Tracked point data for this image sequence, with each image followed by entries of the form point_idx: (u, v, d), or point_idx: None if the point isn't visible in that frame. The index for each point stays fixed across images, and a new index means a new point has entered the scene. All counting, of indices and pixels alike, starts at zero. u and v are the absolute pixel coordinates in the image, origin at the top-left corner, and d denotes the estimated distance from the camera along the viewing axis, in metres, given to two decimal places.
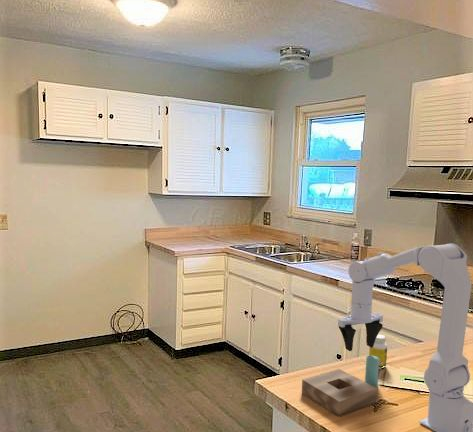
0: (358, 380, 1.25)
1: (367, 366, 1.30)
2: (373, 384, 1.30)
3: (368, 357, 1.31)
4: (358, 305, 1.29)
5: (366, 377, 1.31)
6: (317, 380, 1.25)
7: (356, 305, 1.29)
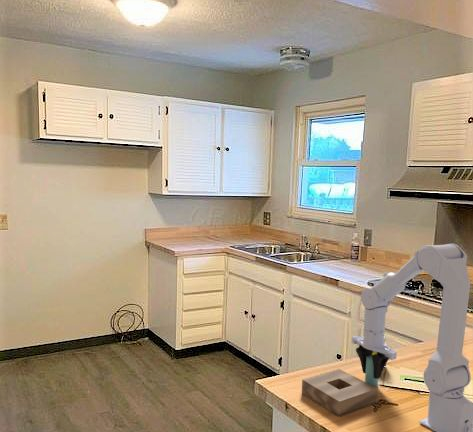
0: (358, 380, 1.25)
1: (367, 366, 1.30)
2: (373, 384, 1.30)
3: (368, 357, 1.31)
4: None
5: (366, 377, 1.31)
6: (317, 380, 1.25)
7: None
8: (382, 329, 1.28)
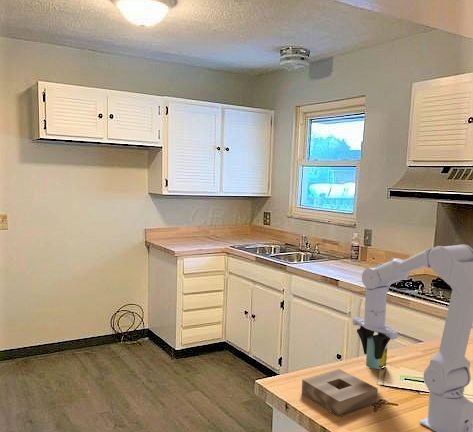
0: (358, 380, 1.25)
1: (368, 347, 1.30)
2: (374, 365, 1.29)
3: (369, 338, 1.31)
4: None
5: (367, 358, 1.30)
6: (317, 380, 1.25)
7: None
8: (383, 309, 1.27)
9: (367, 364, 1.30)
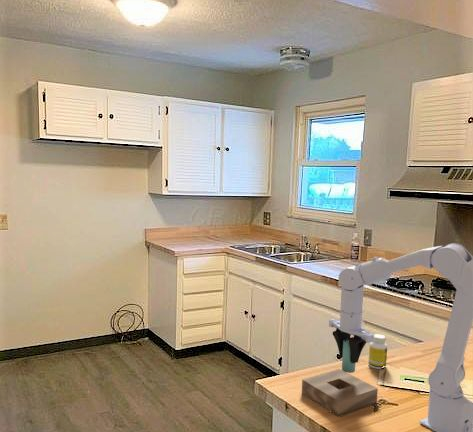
0: (358, 380, 1.25)
1: (344, 350, 1.23)
2: (350, 369, 1.23)
3: (345, 340, 1.24)
4: None
5: (343, 362, 1.24)
6: (317, 380, 1.25)
7: None
8: (361, 310, 1.22)
9: (343, 368, 1.24)
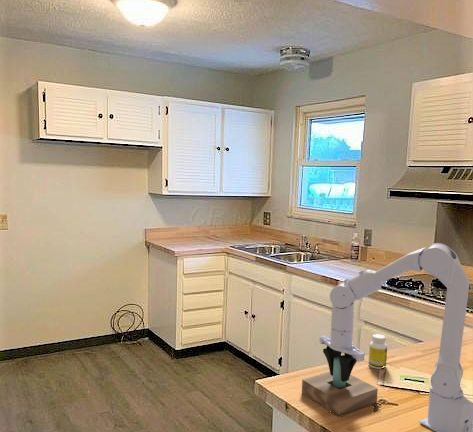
0: (358, 380, 1.25)
1: (334, 368, 1.22)
2: (341, 387, 1.21)
3: (336, 358, 1.22)
4: None
5: (333, 380, 1.22)
6: (317, 380, 1.25)
7: None
8: (352, 327, 1.20)
9: None
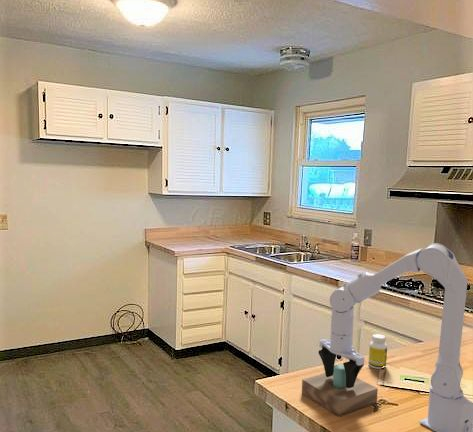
0: (358, 380, 1.25)
1: (334, 376, 1.22)
2: None
3: (336, 367, 1.23)
4: None
5: None
6: (317, 380, 1.25)
7: None
8: (352, 331, 1.20)
9: None
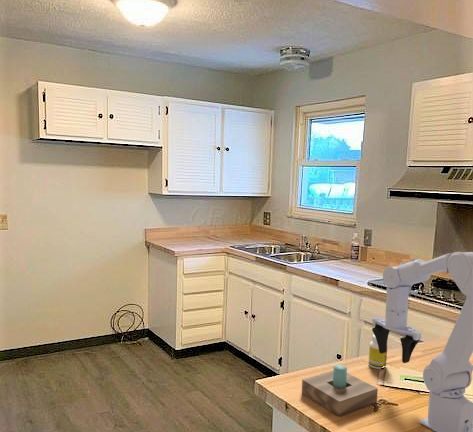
0: (358, 380, 1.25)
1: (334, 376, 1.22)
2: None
3: (335, 367, 1.23)
4: None
5: None
6: (317, 380, 1.25)
7: None
8: (404, 309, 1.23)
9: None
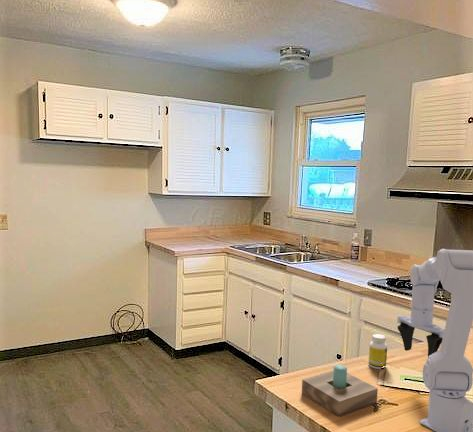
0: (358, 380, 1.25)
1: (334, 376, 1.22)
2: None
3: (336, 367, 1.23)
4: (411, 307, 1.29)
5: None
6: (317, 380, 1.25)
7: None
8: (427, 307, 1.25)
9: None
